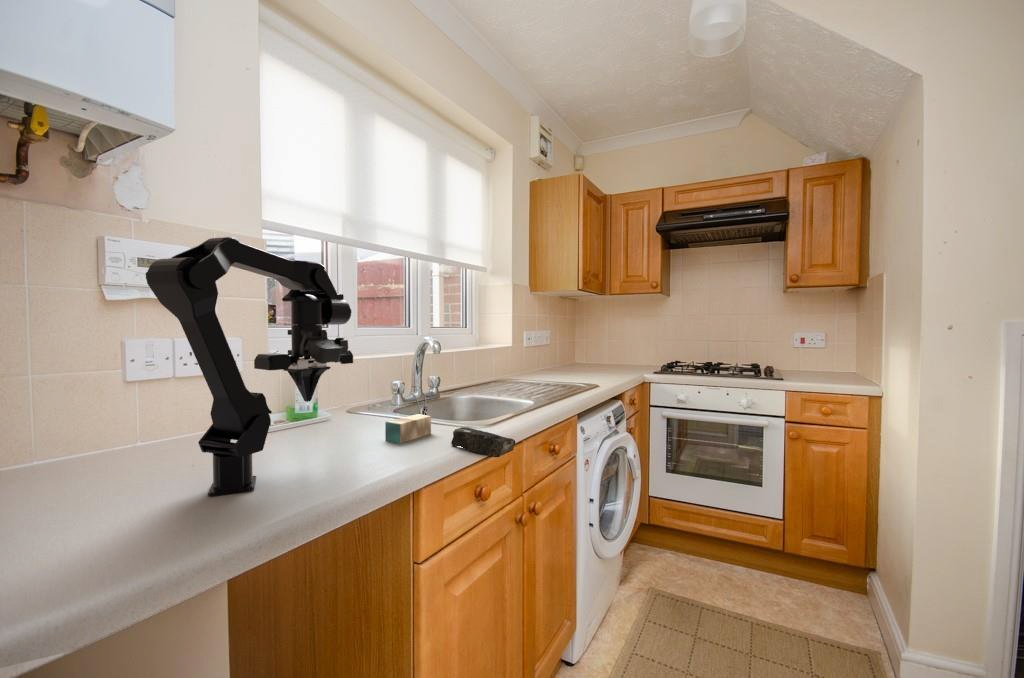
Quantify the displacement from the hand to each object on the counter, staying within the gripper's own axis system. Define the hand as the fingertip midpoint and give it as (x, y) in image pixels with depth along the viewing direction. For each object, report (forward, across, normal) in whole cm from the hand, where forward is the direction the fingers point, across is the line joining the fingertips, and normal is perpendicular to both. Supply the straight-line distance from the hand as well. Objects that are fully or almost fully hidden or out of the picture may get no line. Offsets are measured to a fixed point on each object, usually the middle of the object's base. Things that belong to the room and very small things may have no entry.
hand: (307, 401), depth 93 cm
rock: (+13, +26, -25) cm, 38 cm away
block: (+10, +19, -4) cm, 22 cm away
